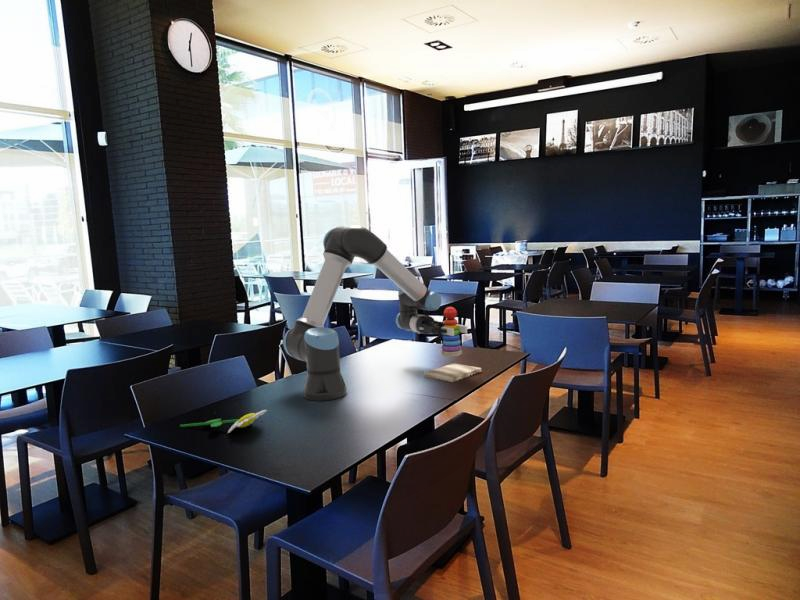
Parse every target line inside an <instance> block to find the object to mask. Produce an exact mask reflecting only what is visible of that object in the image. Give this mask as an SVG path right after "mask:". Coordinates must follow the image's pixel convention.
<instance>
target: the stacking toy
mask: <svg viewBox="0 0 800 600" xmlns="http://www.w3.org/2000/svg"><path fill="white" fill-rule="evenodd" d="M457 315H458V311H457V310H456V308H455V307H453V306H447V307H445V309H444V311H443V316H444V317H445V319H444V320H443V321H444V323H445V325H444V327H448V328H453V329H454V336H450V335H445V334H442V335H443V336H442V346H441V355H442V356H443V357H459V356H461V355H462V354H463V350H462V346H461V339H460V335H459V333H460V332H459V331H458V329H457V328H458V326H457V325H456V324H457V323H458V320H457V319H456V318H457Z"/></svg>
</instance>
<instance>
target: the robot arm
mask: <svg viewBox="0 0 800 600" xmlns="http://www.w3.org/2000/svg"><path fill="white" fill-rule="evenodd" d="M322 241H323V243H322V244H323V245H322V246H323V249H324V250H323V253H322V255H323V258H324V261H323V264H322V266H321V269H320V272H319V274H318V276H317V279H316V282H315V284H314V287H313V289H312V292H311V294H310V296H309V298H308V301H307V304H306V306H305V308H304V311H303V314H302V316H301V317H300V318H298V319H296V320H295V322H294V326H293V327H292V328H290V329H288V330H287V331H286V333H285V334H284V337H283V348H284V351H285V353H286V354H287V355H289V356H290V357H291V358H293V359H294V360H297V361H302V362H306V370H307V373H306V374H307V376H306V380H305V384H304V389H303V397H304V398H305V399H306V400H308V401H317V402H320V401H332V400H335V399H339V398H342V397H344V396H346V395H347V393H348V391H347V385H346V383H345V382H346V381H345V380H344V378H343V375H342V372H341V362H340V358H341V357H340V345H339V344H340V341H339V335H338V332H337V331H336V330H335V329H333V328H329V327H325V322H326V320H327V317H328V314H329V312H330V310H331V307H332V305H333V302H334V299H335V297H336V295H337V291H338V288H339V287H340V284H341V282H342V279H343V278H344V277H343V276H344V274H345V272H346V270H347V268H348V267H351V266H352V264H353V262H354V259H355V258H360V259H363V260H364V261H365V262H366V263H367V264H369V265H374V266H375V267H376V268H377V269H378V270H379V271H381V273H383V275H385V276H386V278H388V279H389V280H390V281H391V282H392V283H393V284H394V285H396V286H397V287H398V288H397V289H398V295H397V296H398V304H399V313H398V314H397V315H396V317H395V325H396V326H397V327H398V328H399V329H401V330H404V331H409V332H413V333H417V334H419V335H420V334H424V335H437V336H442V335H444V334H445V335H450V336H454V329H453V328H448V327H444V325H445V323H444V321H445V320H443V321H439V320H435V319H434V318H433V316H430V315H425V314H418V310H424V311H437V310H439V308H441V305H442V301H443V300H442V296H441V295H440V294H439V293H438V292H435V291H431V290H430V289H429V288H428V287H426V285H425V284H423V283H422V281H421V280H419V279H418V278H417V277H416V276H415V275H414V274H413V273H412V272H411V271H410V270H409V269H408V268H407V267H406V266H405V265H404V264H403V263H402V262H400V260H399V259H397V257H396V256H394V254H393V253H391V251H390V250H388V246H387V244H386V243H385V242H384V241H383V240H381V238H380V237H378V236H377V235H376V234H375V233H373V232H372V231H371V230H369V229H368V228H366V227H363V226H361V225H350V226H345V225H343V226H342V225H341V226H336V227H333V228H330V229H329V230H328V231H327V232H326V233H325V235H324V237H323V240H322ZM456 325H457V326H458V328H457V329H458V331H459V333H463V334H468V326H467V325H463V324H461V323H459V322H457V324H456Z"/></svg>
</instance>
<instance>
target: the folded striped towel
mask: <svg viewBox="0 0 800 600" xmlns="http://www.w3.org/2000/svg"><path fill="white" fill-rule="evenodd" d="M478 372H479V373H481V372H482V367H477V366H471V365H466V364H460V363H450V364H447V365H443V366H440V367H437V368H434V369H432V370H428V371H426V372H423V376H426V377H425V378H429V377H430V379H434V378H435V380H439V379H440V381H444V382H449V383H454V382H457V381H460V380H463V379H464V378H468V377H470V375H471V376H474V375H475V374H476V373H477V374H479V373H478ZM473 374H474V375H473ZM459 379H460V380H459Z"/></svg>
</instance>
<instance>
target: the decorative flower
mask: <svg viewBox="0 0 800 600" xmlns="http://www.w3.org/2000/svg"><path fill="white" fill-rule="evenodd" d="M266 412H268V409H262V410H261V411H258V412H256V413H255V412H250V413H247V414H245V415H243V416H242V417H240V418H237V419H235V418H234V419H226V420H222V418H216V419H211V420H208V421H205V422H194V423H187V424H186V423H184V424H180V425H179V427H180V428H187V427H197V426H207V425H210V427H211V428H217V427H220V426H222V424H228V423H232V425H231V427H230V428H229V429H228V431H227V434H229V433H231V432H233V430H234V429H235V428H246V427H247V426H250V425H251V424H253V423H254V422H255V421H256V420H257V419H258V418H259V417H261V416H263V415H265V413H266ZM233 423H234V424H233Z"/></svg>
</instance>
